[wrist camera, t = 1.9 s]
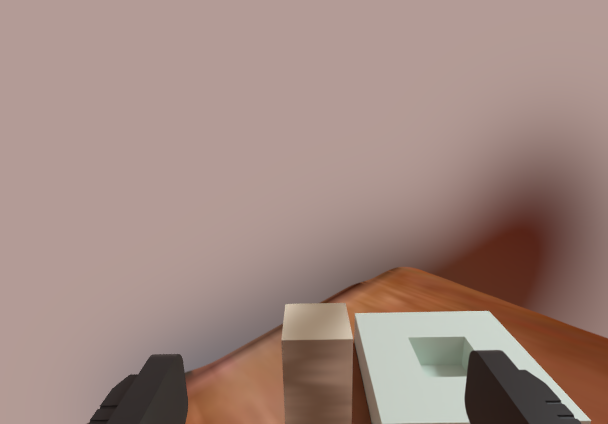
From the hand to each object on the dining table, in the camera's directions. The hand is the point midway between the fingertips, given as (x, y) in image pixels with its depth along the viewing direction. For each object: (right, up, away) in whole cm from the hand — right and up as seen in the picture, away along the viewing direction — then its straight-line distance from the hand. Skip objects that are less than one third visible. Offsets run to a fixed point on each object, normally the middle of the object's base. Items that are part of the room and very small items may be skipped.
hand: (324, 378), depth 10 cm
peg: (0, -16, +16) cm, 23 cm away
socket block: (+14, -13, +26) cm, 33 cm away
